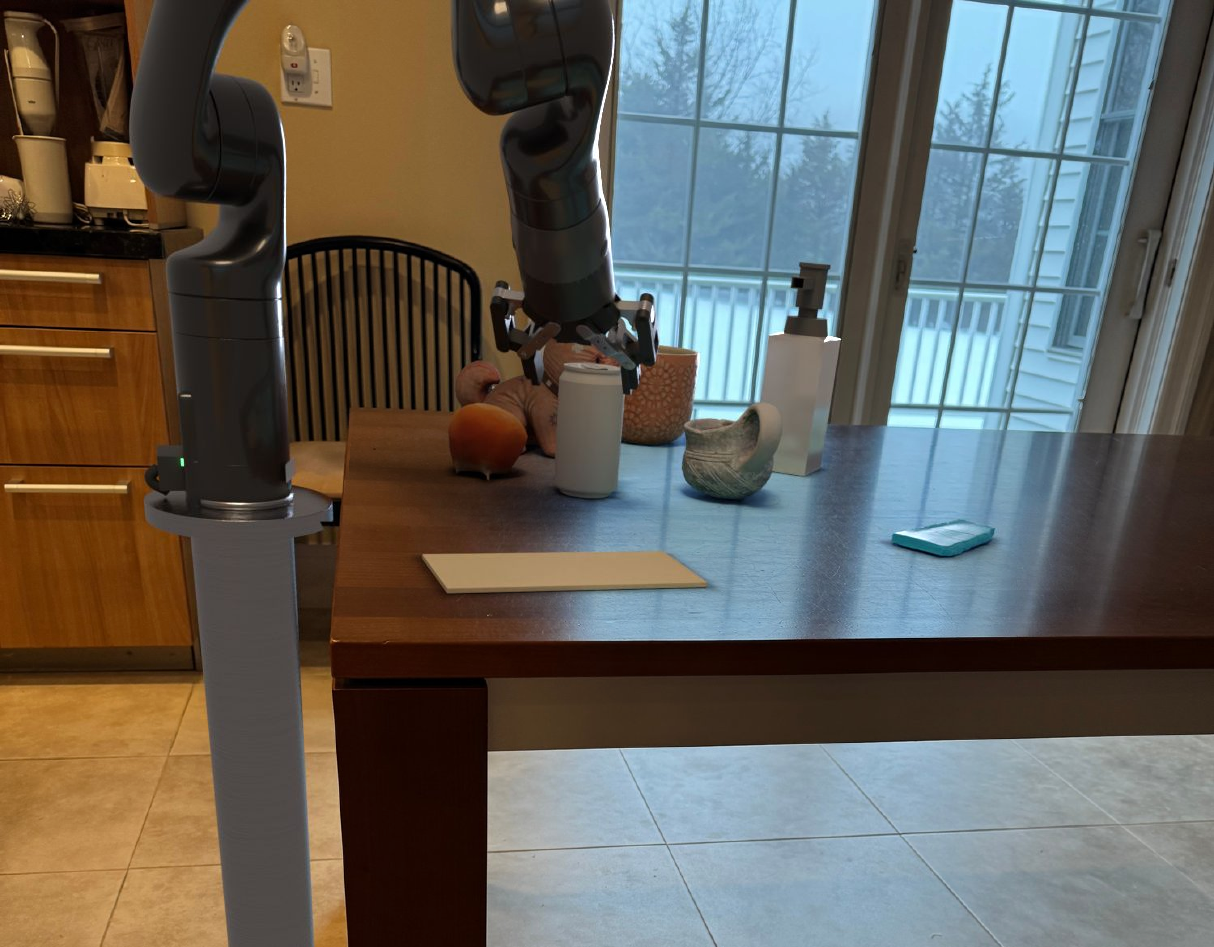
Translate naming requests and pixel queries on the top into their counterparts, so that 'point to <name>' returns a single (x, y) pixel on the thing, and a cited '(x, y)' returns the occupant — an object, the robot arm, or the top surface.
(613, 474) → the beverage can
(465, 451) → the fruit
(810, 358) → the soap dispenser
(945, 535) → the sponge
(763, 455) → the mug
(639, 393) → the planter
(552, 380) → the figurine
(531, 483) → the top surface
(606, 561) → the board
